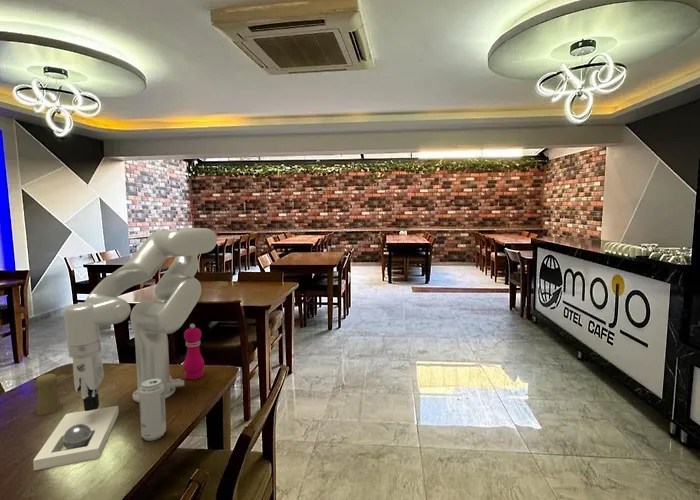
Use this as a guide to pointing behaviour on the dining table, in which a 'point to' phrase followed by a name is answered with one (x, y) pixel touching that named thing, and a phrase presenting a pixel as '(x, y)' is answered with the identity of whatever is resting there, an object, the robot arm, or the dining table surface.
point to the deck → (100, 429)
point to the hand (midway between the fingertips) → (92, 408)
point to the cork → (47, 395)
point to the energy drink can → (152, 409)
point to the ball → (77, 436)
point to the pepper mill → (193, 353)
